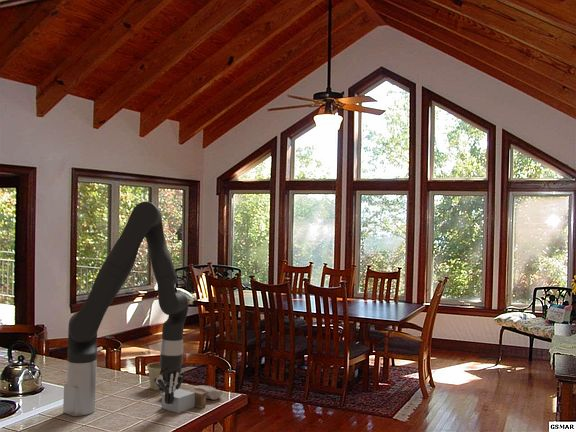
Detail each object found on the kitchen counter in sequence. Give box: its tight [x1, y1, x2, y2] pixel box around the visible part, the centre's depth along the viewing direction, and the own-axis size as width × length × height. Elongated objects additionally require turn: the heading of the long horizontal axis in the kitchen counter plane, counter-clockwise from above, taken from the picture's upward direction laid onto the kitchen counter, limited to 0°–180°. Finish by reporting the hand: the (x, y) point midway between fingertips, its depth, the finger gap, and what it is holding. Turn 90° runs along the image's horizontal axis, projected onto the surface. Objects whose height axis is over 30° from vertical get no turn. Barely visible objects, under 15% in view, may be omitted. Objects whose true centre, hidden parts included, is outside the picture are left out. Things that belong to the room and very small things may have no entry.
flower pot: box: [146, 361, 161, 391], centre depth 224 cm, size 9×9×9 cm
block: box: [161, 388, 196, 414], centre depth 203 cm, size 8×8×5 cm
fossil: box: [193, 385, 223, 401], centre depth 214 cm, size 9×6×10 cm
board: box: [161, 385, 207, 409], centre depth 208 cm, size 2×19×5 cm, turn 56°
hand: (168, 403), depth 197 cm, fingers closed
